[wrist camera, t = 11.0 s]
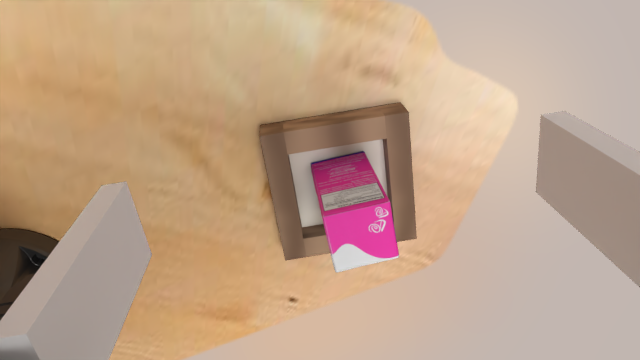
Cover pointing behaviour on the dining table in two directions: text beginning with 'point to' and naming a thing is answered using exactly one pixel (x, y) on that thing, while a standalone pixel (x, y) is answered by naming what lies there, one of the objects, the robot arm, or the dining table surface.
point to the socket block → (329, 142)
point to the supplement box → (354, 212)
